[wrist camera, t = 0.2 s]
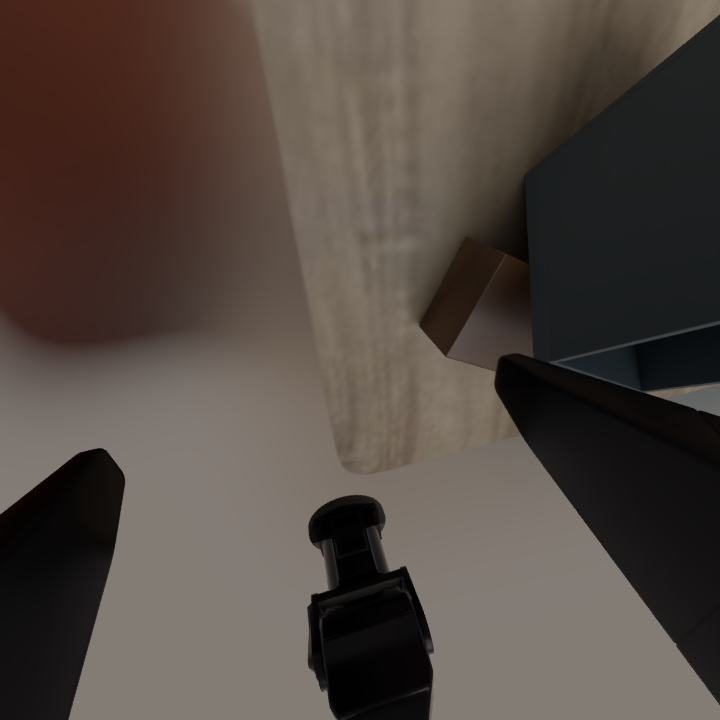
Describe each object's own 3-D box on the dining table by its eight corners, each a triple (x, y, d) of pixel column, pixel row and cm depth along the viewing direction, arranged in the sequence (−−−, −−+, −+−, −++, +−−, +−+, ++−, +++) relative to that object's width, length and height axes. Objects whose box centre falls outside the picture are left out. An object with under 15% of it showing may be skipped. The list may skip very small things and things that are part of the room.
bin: (531, 330, 24) (775, 495, 13) (454, 302, 22) (674, 478, 10) (681, 109, 19) (1375, 37, 7) (602, 33, 16) (1518, -291, 4)
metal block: (527, 361, 26) (565, 392, 23) (418, 326, 22) (445, 357, 19) (577, 289, 23) (629, 312, 20) (465, 236, 20) (506, 253, 16)
